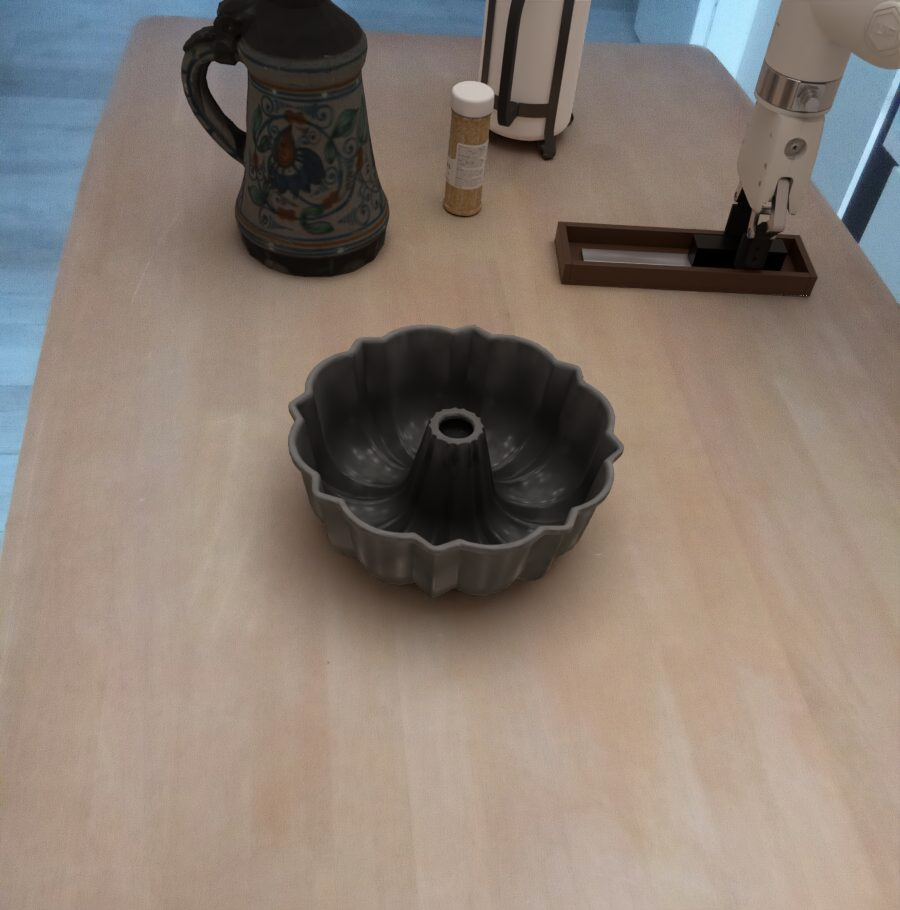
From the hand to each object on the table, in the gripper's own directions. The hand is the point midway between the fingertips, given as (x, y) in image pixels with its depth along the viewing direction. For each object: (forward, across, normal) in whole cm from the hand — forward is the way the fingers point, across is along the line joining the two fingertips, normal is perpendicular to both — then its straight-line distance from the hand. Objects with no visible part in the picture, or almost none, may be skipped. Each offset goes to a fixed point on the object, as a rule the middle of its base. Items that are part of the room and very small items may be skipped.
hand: (742, 251), depth 112 cm
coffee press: (+2, +27, +22) cm, 35 cm away
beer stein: (+2, +2, +48) cm, 48 cm away
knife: (+2, 0, +6) cm, 7 cm away
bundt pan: (+3, -38, +33) cm, 51 cm away
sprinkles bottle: (+2, +10, +30) cm, 32 cm away
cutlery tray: (+3, 0, +6) cm, 7 cm away
